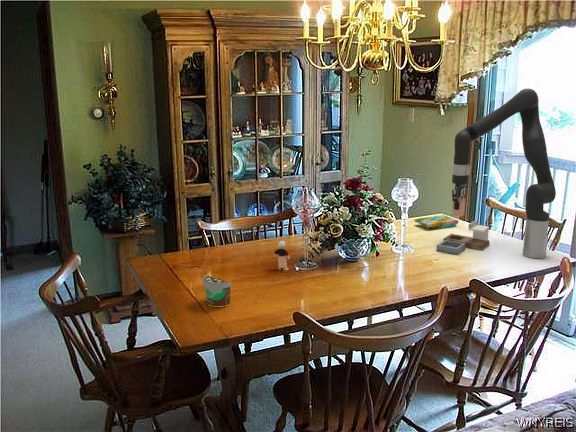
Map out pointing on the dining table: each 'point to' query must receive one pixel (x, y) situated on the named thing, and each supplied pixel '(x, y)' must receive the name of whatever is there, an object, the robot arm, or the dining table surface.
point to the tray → (451, 247)
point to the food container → (217, 291)
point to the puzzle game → (437, 222)
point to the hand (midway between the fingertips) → (458, 208)
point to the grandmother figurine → (282, 256)
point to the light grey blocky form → (479, 231)
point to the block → (461, 208)
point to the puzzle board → (468, 241)
